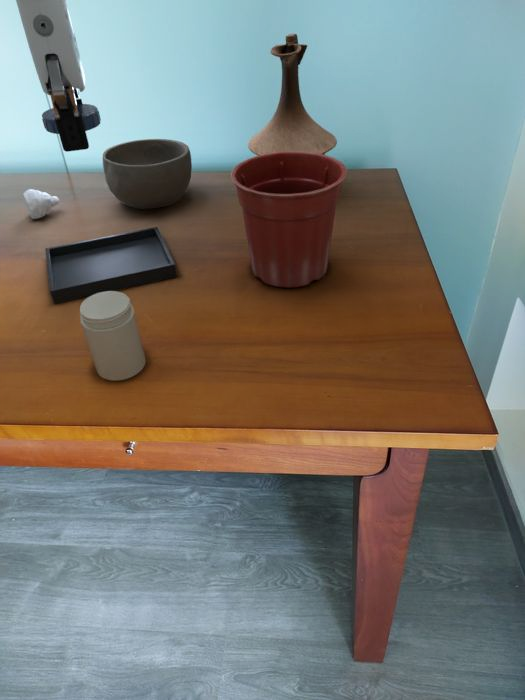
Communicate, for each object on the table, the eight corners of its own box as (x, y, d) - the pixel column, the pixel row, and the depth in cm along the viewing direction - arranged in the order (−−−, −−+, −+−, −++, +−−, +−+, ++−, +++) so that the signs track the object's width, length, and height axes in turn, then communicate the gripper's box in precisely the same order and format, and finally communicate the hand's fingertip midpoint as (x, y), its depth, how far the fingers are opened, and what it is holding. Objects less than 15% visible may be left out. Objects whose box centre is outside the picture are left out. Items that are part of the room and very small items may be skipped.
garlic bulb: (65, 216, 103) (57, 189, 100) (34, 223, 101) (25, 197, 98) (59, 206, 107) (51, 180, 104) (29, 213, 105) (19, 187, 101)
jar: (100, 386, 65) (80, 326, 59) (92, 356, 70) (73, 297, 64) (150, 372, 67) (136, 311, 61) (140, 343, 72) (125, 284, 66)
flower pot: (219, 265, 87) (208, 169, 77) (296, 234, 94) (296, 142, 84) (280, 310, 77) (277, 206, 66) (361, 271, 84) (371, 172, 73)
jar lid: (102, 114, 73) (99, 101, 71) (98, 131, 67) (95, 117, 66) (49, 119, 72) (45, 106, 71) (41, 136, 66) (37, 122, 65)
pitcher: (255, 175, 115) (248, 28, 97) (333, 175, 114) (341, 25, 96) (246, 211, 102) (236, 47, 84) (334, 211, 100) (343, 44, 82)
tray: (54, 304, 80) (49, 291, 78) (49, 260, 90) (45, 248, 89) (177, 276, 85) (175, 264, 83) (159, 238, 95) (157, 226, 93)
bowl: (174, 176, 117) (167, 129, 111) (211, 203, 105) (205, 153, 99) (99, 195, 110) (87, 147, 104) (129, 227, 99) (118, 175, 92)
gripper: (67, -16, 53) (108, 158, 65) (70, -30, 66) (103, 118, 78) (-10, -10, 52) (44, 167, 64) (7, -26, 65) (50, 124, 77)
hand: (76, 138), depth 71 cm, fingers closed on jar lid, 7 cm apart
